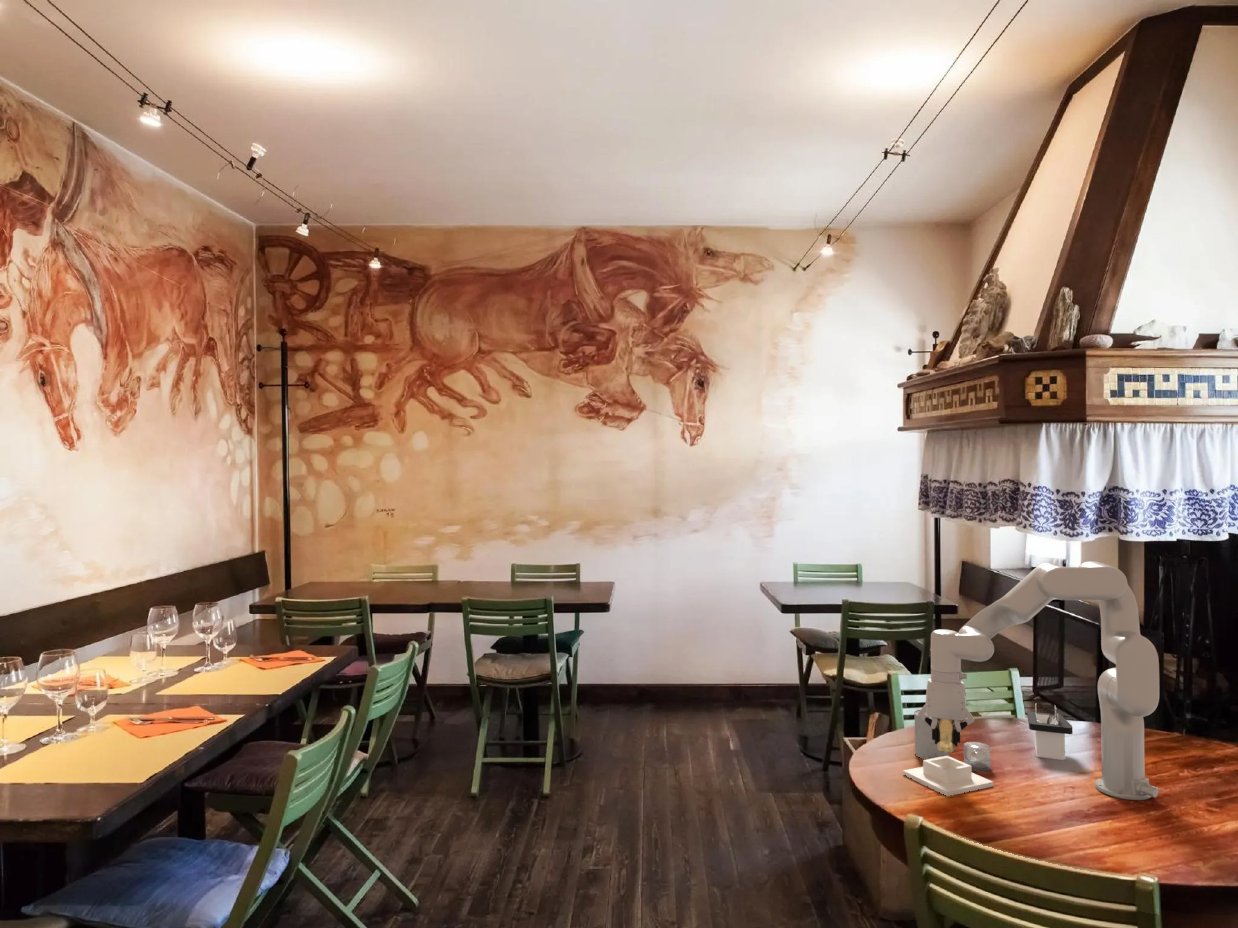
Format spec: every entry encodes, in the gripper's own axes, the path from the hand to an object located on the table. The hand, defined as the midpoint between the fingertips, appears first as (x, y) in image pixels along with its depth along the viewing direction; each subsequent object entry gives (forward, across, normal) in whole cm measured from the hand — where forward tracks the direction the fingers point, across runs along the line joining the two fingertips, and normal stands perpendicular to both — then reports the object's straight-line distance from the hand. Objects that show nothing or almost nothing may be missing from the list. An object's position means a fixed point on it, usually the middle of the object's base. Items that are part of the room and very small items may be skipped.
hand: (946, 742), depth 218 cm
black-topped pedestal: (+10, -28, -33) cm, 44 cm away
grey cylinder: (+10, +4, -18) cm, 21 cm away
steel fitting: (+10, -8, -14) cm, 19 cm away
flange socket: (+10, 0, 0) cm, 10 cm away
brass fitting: (+2, 0, 0) cm, 2 cm away
